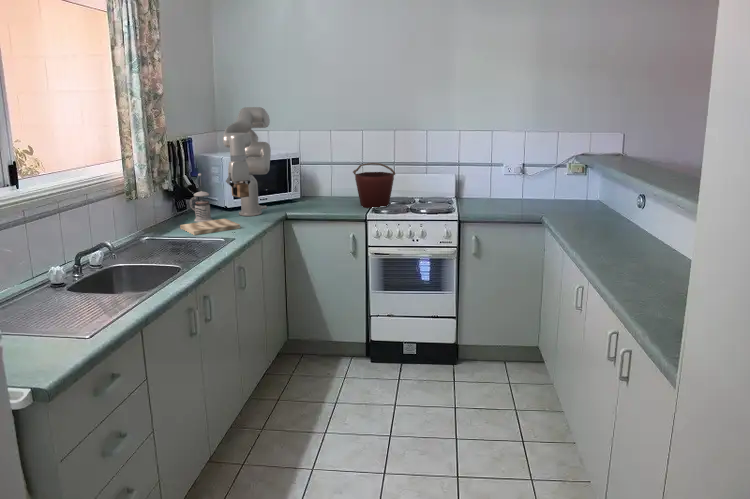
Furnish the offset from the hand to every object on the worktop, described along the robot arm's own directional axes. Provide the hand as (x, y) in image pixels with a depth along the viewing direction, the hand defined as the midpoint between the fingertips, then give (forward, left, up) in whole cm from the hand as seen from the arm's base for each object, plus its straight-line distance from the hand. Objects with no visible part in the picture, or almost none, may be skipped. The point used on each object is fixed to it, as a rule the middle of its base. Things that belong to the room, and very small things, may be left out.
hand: (240, 194), depth 319 cm
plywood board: (+17, 0, -16) cm, 23 cm away
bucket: (-84, +4, -16) cm, 85 cm away
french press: (+12, -23, -16) cm, 31 cm away
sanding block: (0, 0, -1) cm, 1 cm away
